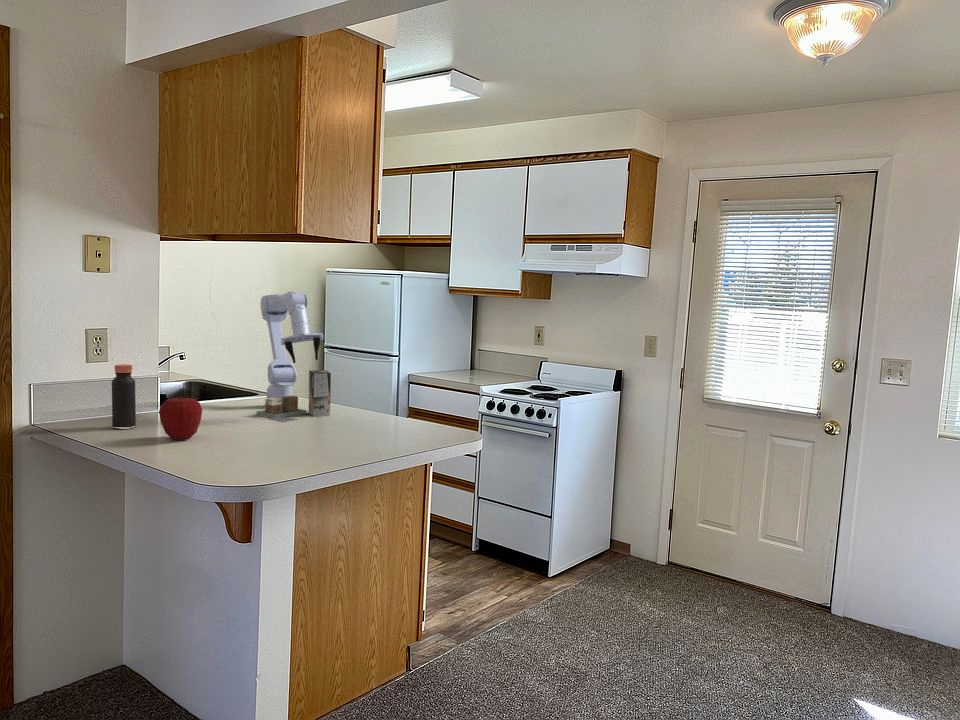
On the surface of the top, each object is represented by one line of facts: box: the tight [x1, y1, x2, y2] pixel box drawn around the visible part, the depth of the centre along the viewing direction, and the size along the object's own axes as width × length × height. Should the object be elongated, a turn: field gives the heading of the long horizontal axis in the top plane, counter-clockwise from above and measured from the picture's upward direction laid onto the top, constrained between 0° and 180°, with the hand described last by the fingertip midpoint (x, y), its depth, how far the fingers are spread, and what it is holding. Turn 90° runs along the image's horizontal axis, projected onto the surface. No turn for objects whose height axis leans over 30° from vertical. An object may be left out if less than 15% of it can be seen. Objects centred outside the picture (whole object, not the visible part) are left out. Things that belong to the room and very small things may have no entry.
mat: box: [269, 416, 299, 423], centre depth 254 cm, size 7×7×1 cm
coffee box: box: [308, 369, 332, 417], centre depth 267 cm, size 9×6×16 cm
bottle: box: [111, 363, 137, 427], centre depth 232 cm, size 7×7×20 cm
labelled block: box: [264, 397, 282, 414], centre depth 261 cm, size 4×4×6 cm
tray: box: [256, 408, 307, 419], centre depth 265 cm, size 10×14×2 cm
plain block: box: [282, 395, 299, 413], centre depth 267 cm, size 4×4×6 cm
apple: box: [158, 395, 203, 441], centre depth 219 cm, size 12×12×13 cm
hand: (305, 360), depth 256 cm, fingers open, 7 cm apart
